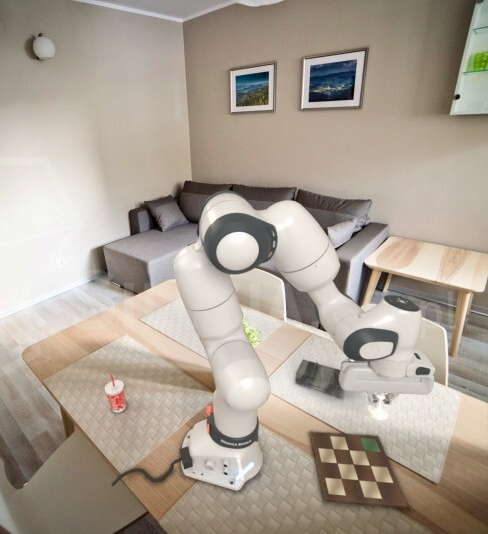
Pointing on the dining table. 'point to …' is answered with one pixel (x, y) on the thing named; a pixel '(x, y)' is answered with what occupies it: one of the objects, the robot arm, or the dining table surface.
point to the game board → (355, 470)
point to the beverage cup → (116, 395)
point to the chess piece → (378, 408)
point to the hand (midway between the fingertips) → (379, 402)
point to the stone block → (319, 377)
